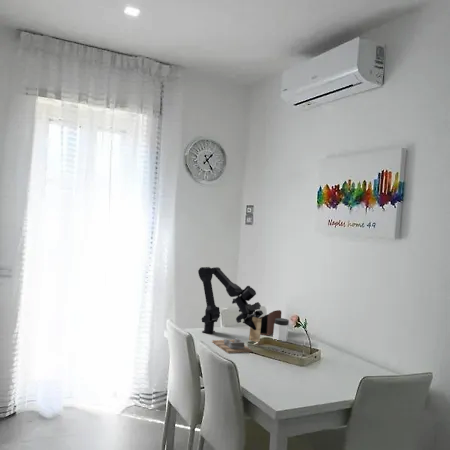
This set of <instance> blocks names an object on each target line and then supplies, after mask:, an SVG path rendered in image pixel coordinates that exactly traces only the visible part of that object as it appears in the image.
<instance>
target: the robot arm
mask: <svg viewBox="0 0 450 450" xmlns="http://www.w3.org/2000/svg"><path fill="white" fill-rule="evenodd" d="M197 271H198V277H199V278H200V281H201V282H202V284H203V290H204V292H203V293H204V296H205V302H206V308H205V312H204V313H205V314H204V316H202V318H201V322H202V323H204V327H203V330H202V331H201V332H202V333H204V334H211V335H213V334H214V333H215V332H216V330H214V329H215V323H217V322H218V321H219V318H220V316H221V311H220V306H217V305H216V303H215V302H216V301H215V297H214V291H213V285H212V279H213V276H215V278H217V280H218V281H219V282H220V283H221V285H223V286H224V288H225V291H226V293H227V295H228V296H229V297H230V298H232V301H231V304H232V305H233V304H236V306H237V308H238V312H239V313H240V312H241V313H240V314H239V315H237V317H235V321H236V323H237V324H238V323H241V322H242V324H245V325H246V326H248V327H249V328H250V327H251V328H252V329H254V330H256V327H255V325H254V323H253V321H252V317H256V318H260V317H262V315H264V312H263V311H262V310H261V307H262V305H261V303H259V301H258V302H255V303H253V304H251V303H248V302H249V301H250V300H251V299H252V298H254V297H255V296H256V295H257V292H256V290H255V289H254V288H252V287H251V286H250V285H246V287H244V289H243V288H241V286H239V285H238V284H236V283H234V282H232V280H230V279H229V277H228V276H227V275H226V274H225V273H224V272H223V271H222V270H221V268H220V267H218V266H216V267H210V266H205V267H201V266H200V268H199V269H198V270H197ZM234 297H235V298H234Z"/></svg>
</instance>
